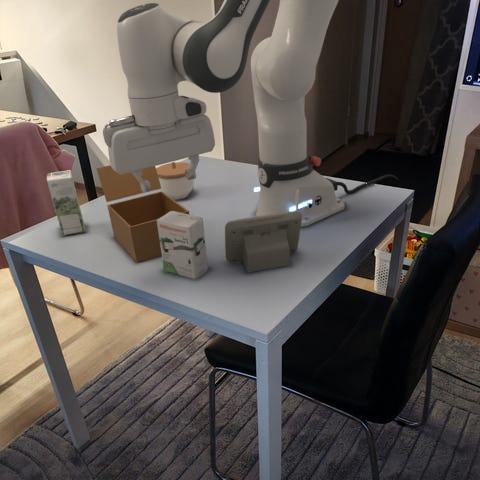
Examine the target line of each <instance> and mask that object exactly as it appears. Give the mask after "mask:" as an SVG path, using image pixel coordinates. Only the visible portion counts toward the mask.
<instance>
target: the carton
mask: <svg viewBox="0 0 480 480" xmlns="http://www.w3.org/2000/svg"><path fill="white" fill-rule="evenodd" d="M107 211H108V215H109V219H110V225H111V230H112V233H113V238H114V239H115V240H116V241H117V243H119V245H120V246H121V247H122V249H124V250H125V251H126V252H127V253H128V254H129V256H130V257H131V258H132V259H133V260H134V261H135V262H136V263H141V262H144V261H148V260H150V259H154V258H157V257H160V256H161V257H162V253H161V246H160V239H159V233H158V226H157V220H158V219H159V218H161V217H162V216H164V215H166V214H167V213H169V212H171V211H175V212H180V213H184V214H189V215H191V214H190V211H189V210H188V209H187V208H186V207H184V206H183V205H181V203H179V202H177V200H173V199H172V198H170V197H169V196H168V195H166V194H165V193H164V192H162V191H161V190H160V191H157V192H154V193H150V194H146V195H142V196H138V197H134V198H129V199H126V200H122V201H118V202H114V203H111V204H107Z"/></svg>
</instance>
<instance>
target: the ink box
mask: <svg viewBox="0 0 480 480" xmlns="http://www.w3.org/2000/svg"><path fill="white" fill-rule="evenodd" d="M189 214H190V213H189ZM189 214H184V213H180V212H175V211H171V212H169V213H167V214H166V215H164V216H162V217H161V218H159V219H158V220H157V226H158V233H159V239H160V246H161V253H162V255H161V259H162V266H163V271H164V272H166V273H171V274H175V275H178V276H182V277H186V278H189V279H193V280H196V279H198V278H200V277H201V276H202V275H203V274H205V273H206V272H208V270H209V265H208V255H207V247H206V236H205V227H204V218H203V217H202V216H198V215H194V214H190V215H189Z"/></svg>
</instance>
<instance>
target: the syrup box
mask: <svg viewBox="0 0 480 480" xmlns="http://www.w3.org/2000/svg"><path fill="white" fill-rule="evenodd" d="M46 182H47V186H48V190H49V194H50V196H51V200H52V204H53V208H54V212H55V214H56V218H57V222H58V226H59V228H60V232H61V236H63V237H64V236H70V235H71V236H72V235H76V234H82V233H86V227H85V221H84V217H83V214H82V209H81V206H80V202H79V198H78V193H77V190H76V189H77V188H76V186H75V185H76V184H75V181H74V177H73V173H72V170H71V169H67V170H62V171H55V172H48V173H47V174H46Z"/></svg>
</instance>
